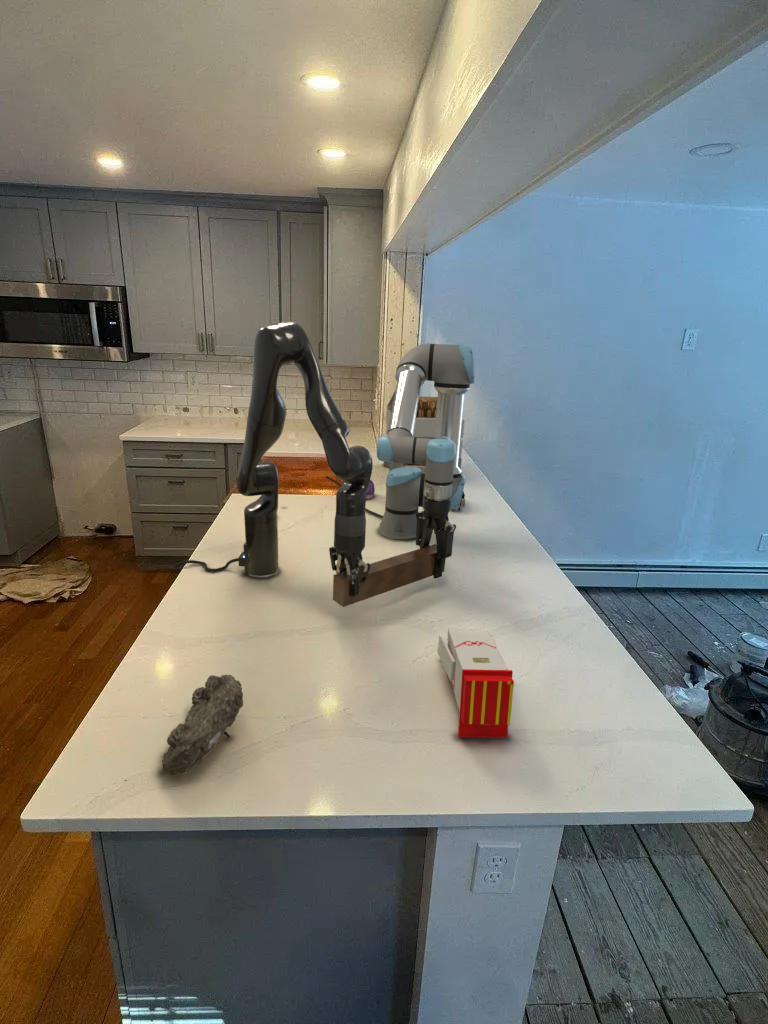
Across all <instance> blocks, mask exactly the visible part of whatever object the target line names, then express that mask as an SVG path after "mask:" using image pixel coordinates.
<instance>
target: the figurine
mask: <svg viewBox="0 0 768 1024" xmlns="http://www.w3.org/2000/svg"><path fill="white" fill-rule="evenodd" d="M375 491H376V488H375V484H374V482H373V481H372V479H370V482H369V486H368V489H367V493H366V500H370V499H372V498H374V496H375Z"/></svg>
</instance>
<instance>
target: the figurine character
mask: <svg viewBox="0 0 768 1024" xmlns="http://www.w3.org/2000/svg"><path fill="white" fill-rule="evenodd" d="M465 496H466V494H465V492H464V490H463V494H462V498H461V502H460V505H459V507H458V508H457V509H458V511H461V510H462V509H461V508H465V505H466V497H465ZM451 511H454V509H451Z"/></svg>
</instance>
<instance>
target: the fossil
mask: <svg viewBox="0 0 768 1024" xmlns="http://www.w3.org/2000/svg"><path fill="white" fill-rule="evenodd" d="M243 696H244V694H243V687H242V684H241V682H240V680H237V679H236V678H235V677H234V676H233V675H232V674H222V675H221V676H217V675H209V676H208V677H207V678H206V681H205V684H204V686H201V687H197V688H195V690H193V693H192V697H191V704H192V705H191V707H190V709H189V710H188V713H187V715H186V716H185V719H184V723H178V724H177V726H176V727H175V728H173V729H172V730H171V731H170V734H169V735H168V737H167V738H166V743H167V745H168V748H167V750H166V752H165V753H163V755H162V757H163V759H161V766H162V771H163V773H168V774H169V775H170V776H174V775H178V774H183V773H185V774H189V773H190V772H191V771H192V770H193V769H194V767H196V766H197V765H198V764H199V763H200V762H202V760H203V759H204V758H205V757H206V756H207V755H208V754H209V753H210V752H211V751H213V750H214V749H215V747H216V746H217V743H218V741H220V740H221V739H222V737H223V736H225V737H226V738H228V739H230V738H231V735H230V734H229V733H228V732H227V729H228V728H231V727H232V725H233V724H234V723H235V722H236V719H237V717H238V714H239V713H240V710H241V709H242V708H243V707H244V699H243V698H244V697H243Z"/></svg>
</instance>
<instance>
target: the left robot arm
mask: <svg viewBox="0 0 768 1024" xmlns="http://www.w3.org/2000/svg"><path fill="white" fill-rule="evenodd" d="M291 364H294V365H295V367H296V368H297V370H298V372H299V373H300V375H301V377H302V380H303V386H304V396H305V397H304V401H305V403H304V404H305V410H306V414H307V418H308V419H309V422H310V423H311V425H312V426H313V428H314V430H315V432H316V434H317V435H318V437H319V439H320V440H321V442H322V447H323V451H324V454H325V457H326V460H327V461H326V462H327V465H328V467H329V468H330V471H331V472H332V474H333V475H334V476H335V477H336V478H337V479H339V480H340V481H342V482H343V483H342V484H341V485H342V486H341V487H340V486H339V488H338V490H337V491H336V495H335V515H334V523H333V524H334V525H333V527H334V529H333V546H330V547H329V548H328V551H329V559H330V565H331V569H332V571H334V572H335V574H338V573H342V572H345V571H347V573H348V575H349V576H350V581H351V584H350V596H351V597H352V598H353V597H356V596H358V595H359V585H360V584H362V583H366V580H367V576H368V573H369V569H370V564H371V563H369V562H367V563H366V562H365V561H364V560H363V554H362V552H363V550H364V549H365V547H366V533H367V532H366V531H367V530H366V529H367V518H366V511H365V508H366V504H367V499H366V493H367V489H368V486H369V482H370V480H371V479H372V478H371V477H372V473H373V467H374V466H373V458H372V455H371V452H370V451H369V450H368V449H367V448H366V447H365V446H363V445H354V446H349V444H348V441H347V437H348V436H349V433H350V427H349V425H348V423H347V421H346V419H345V418H344V416H343V414H342V412H341V410H340V409H339V407H338V405H337V404H336V402H335V400H334V398H333V396H332V395H331V392H330V390H329V387H328V386H327V383H326V380H325V377H324V375H323V372H322V369H321V366H320V364H319V361H318V358H317V357H316V354H315V351H314V349H313V346H312V343H311V341H310V339H309V337H308V334H307V333H306V331H305V329H304V328H303V326H301V324H299V323H298V322H296V321H295V320H294V321H293V320H287V321H281V322H277V323H272V324H268V325H264V326H262V327H261V328H260V329H259V330H258V331H257V333H256V336H255V340H254V347H253V371H252V372H253V373H252V384H251V385H252V386H251V392H250V393H251V394H250V400H249V406H248V411H247V418H246V427H245V434H244V441H243V446H242V447H243V448H242V450H241V454H240V459H239V462H238V466H237V471H236V487H237V491H238V492H239V493H240V495H242V496H243V497H256V496H259V497H258V498H257V499H255V501H253V502H251V503H249V504H248V505H246V506H245V507H244V510H243V516H244V518H243V519H244V520H243V521H244V540H245V542H244V543H243V551H241V553H240V555H239V556H238V557H236V558H233V559H230V560H227V562H226V564H225V565H224V566H221V567H218V568H210V567H208V564H207V562H205V561H200V560H196V559H195V560H194V559H189V560H188V559H187V560H182V561H180V562H179V563H176V564H175V566H174V568H176V569H177V568H179V567H180V566H183V565H185V564H196V565H202V566H204V570H205V571H207V572H213V573H214V572H215V573H216V572H221V571H225V570H226V569H227V568H228V567H229V566H230V565H231V564H233V563H236V562H238V567H244V568H243V569H244V576H249V577H251V578H255V579H266V578H272V577H274V576H276V575H277V574H279V572H280V565H279V564H280V563H279V532H278V531H279V528H278V510H279V489H280V488H279V487H280V478H279V477H280V476H279V471H278V467H277V465H276V464H275V463H274V461H272V460H265V461H260V460H261V459H262V457H263V456H264V455H265V454H266V453H267V452H268V451H269V450H270V449H271V448H272V447H273V446H274V445H275V444H276V443H277V441H278V440H279V439H280V437H281V436H282V434H283V432H284V426H285V422H286V418H287V417H286V416H287V406H286V403H285V400H284V399H283V396H282V395H281V393H280V391H279V389H278V379H279V374H280V370H281V368H282V367H285V366H287V365H291ZM353 569H356V570H354V571H352V570H353ZM355 574H356V579H354V575H355Z"/></svg>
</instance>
